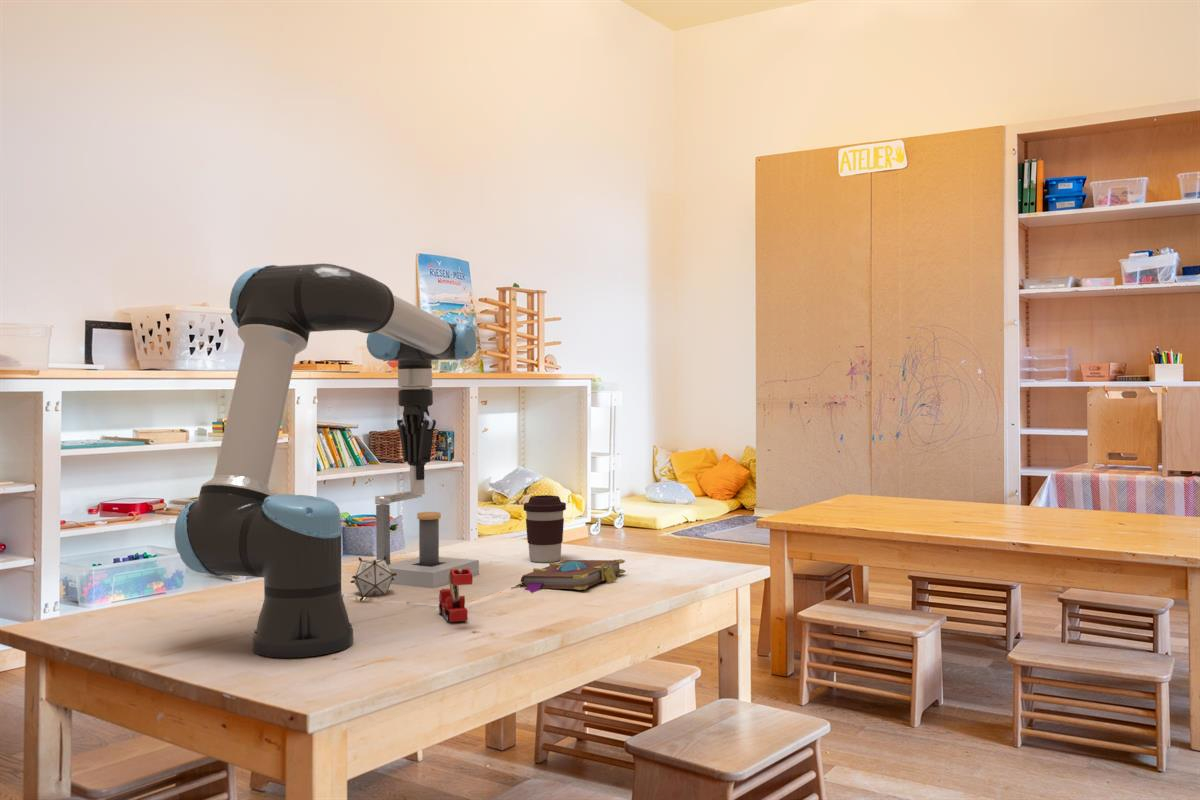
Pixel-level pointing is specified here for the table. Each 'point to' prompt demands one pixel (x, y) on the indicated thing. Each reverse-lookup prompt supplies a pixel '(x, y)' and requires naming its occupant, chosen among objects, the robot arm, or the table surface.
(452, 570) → the toy fire truck
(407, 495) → the silver ball-ended lever
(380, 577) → the game die
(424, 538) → the plug
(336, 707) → the table surface
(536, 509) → the coffee cup
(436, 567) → the socket block
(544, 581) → the book
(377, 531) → the post
